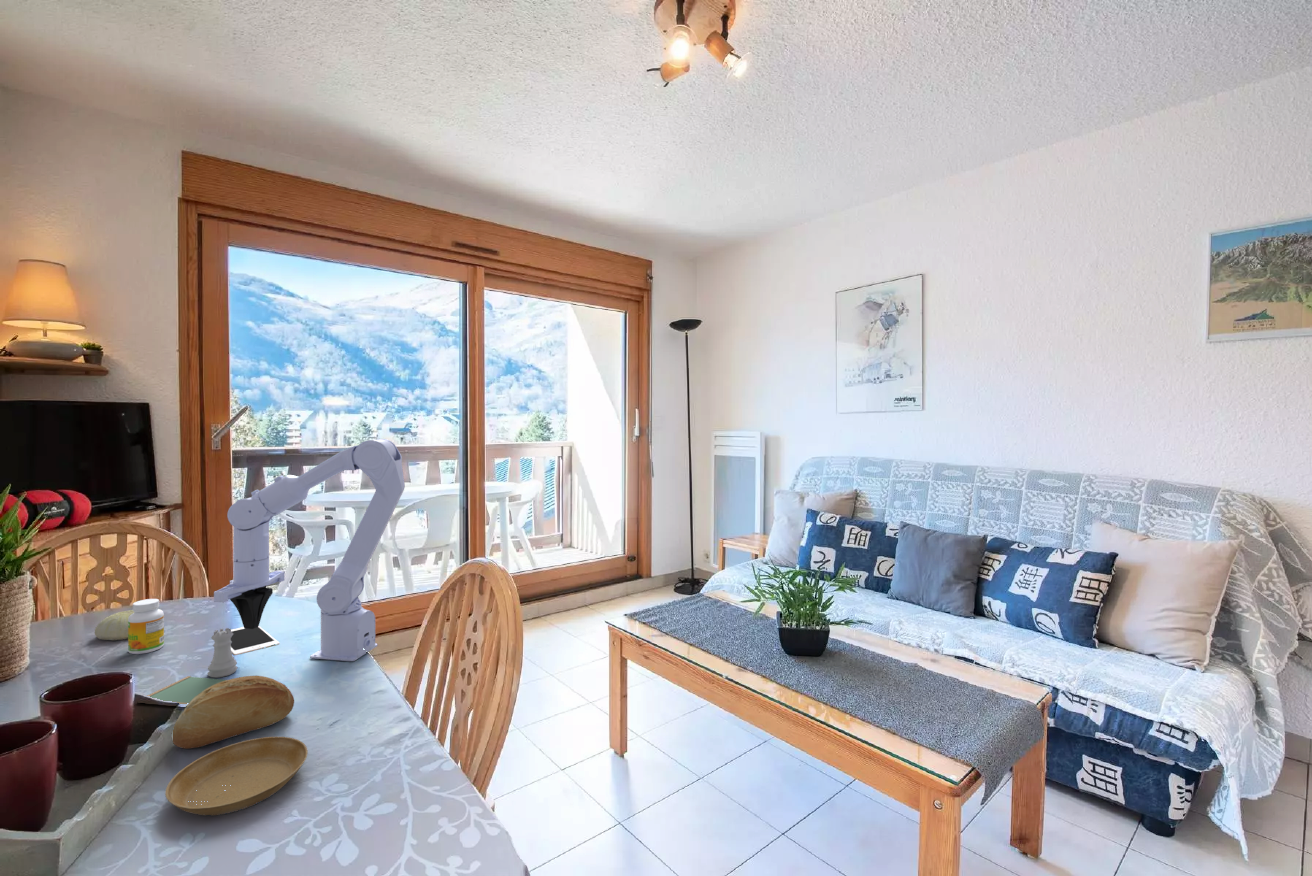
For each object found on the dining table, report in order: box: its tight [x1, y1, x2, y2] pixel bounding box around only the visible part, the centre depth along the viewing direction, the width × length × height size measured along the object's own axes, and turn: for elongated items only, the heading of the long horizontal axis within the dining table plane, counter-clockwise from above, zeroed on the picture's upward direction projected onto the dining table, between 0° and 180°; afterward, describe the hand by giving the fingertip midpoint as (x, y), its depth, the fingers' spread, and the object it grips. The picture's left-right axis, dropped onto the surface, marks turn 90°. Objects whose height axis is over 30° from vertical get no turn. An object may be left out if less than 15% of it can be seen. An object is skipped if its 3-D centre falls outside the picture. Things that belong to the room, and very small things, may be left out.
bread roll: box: [172, 675, 295, 749], centre depth 85 cm, size 10×15×8 cm, turn 134°
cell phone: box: [230, 625, 280, 656], centre depth 120 cm, size 8×16×1 cm, turn 49°
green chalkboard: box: [146, 675, 227, 704], centre depth 97 cm, size 12×9×1 cm
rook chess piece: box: [207, 627, 238, 679], centre depth 104 cm, size 4×4×8 cm
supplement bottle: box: [127, 598, 165, 655], centre depth 114 cm, size 5×5×10 cm
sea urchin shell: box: [94, 609, 134, 641], centre depth 122 cm, size 9×8×8 cm
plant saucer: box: [164, 736, 309, 816], centre depth 73 cm, size 15×15×3 cm
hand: (251, 627), depth 111 cm, fingers closed
